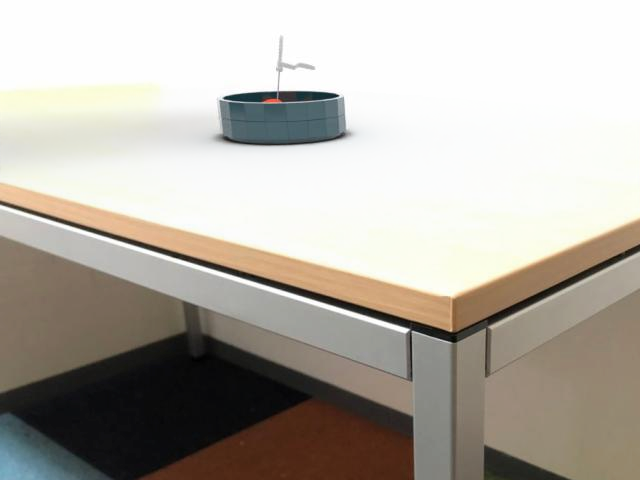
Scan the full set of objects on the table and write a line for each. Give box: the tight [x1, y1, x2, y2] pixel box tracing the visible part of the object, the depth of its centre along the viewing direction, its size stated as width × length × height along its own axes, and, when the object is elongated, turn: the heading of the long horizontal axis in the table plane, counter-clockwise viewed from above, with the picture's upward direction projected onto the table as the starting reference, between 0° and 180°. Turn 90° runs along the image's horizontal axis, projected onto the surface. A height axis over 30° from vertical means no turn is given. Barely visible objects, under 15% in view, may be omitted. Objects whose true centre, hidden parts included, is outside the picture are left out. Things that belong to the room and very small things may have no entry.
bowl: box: [216, 90, 347, 145], centre depth 99 cm, size 16×16×5 cm
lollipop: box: [262, 34, 316, 103], centre depth 97 cm, size 6×10×12 cm, turn 76°
